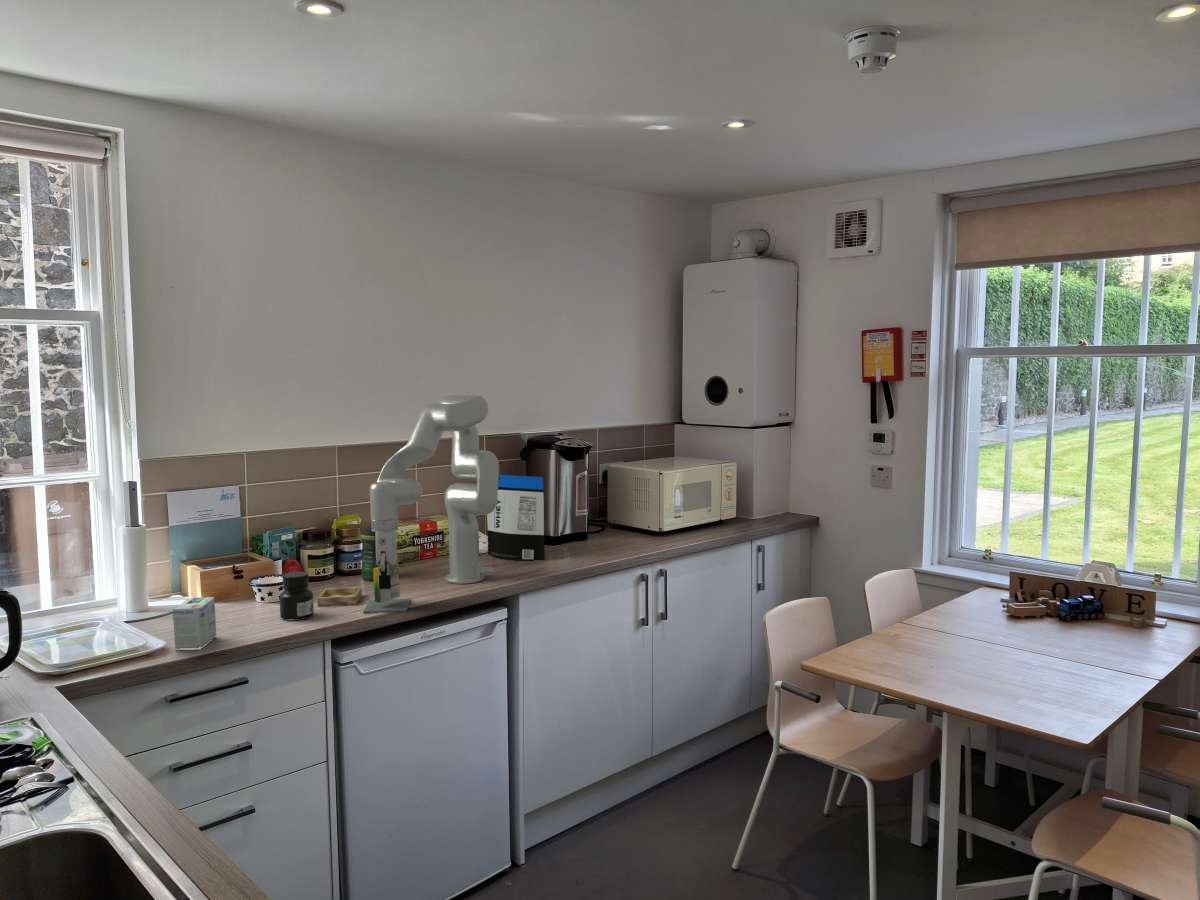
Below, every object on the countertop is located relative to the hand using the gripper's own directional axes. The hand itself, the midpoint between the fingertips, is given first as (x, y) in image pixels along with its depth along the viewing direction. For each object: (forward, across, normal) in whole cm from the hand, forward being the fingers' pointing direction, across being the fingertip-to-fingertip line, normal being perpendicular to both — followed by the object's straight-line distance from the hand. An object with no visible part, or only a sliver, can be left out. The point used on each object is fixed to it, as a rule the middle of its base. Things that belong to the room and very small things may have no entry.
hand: (386, 584), depth 249 cm
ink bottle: (+7, -6, +24) cm, 26 cm away
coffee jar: (+7, +36, +8) cm, 37 cm away
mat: (+6, 0, 0) cm, 6 cm away
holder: (+6, +9, +15) cm, 19 cm away
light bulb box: (+7, -27, +44) cm, 52 cm away
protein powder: (+7, +59, -38) cm, 70 cm away
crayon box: (+4, 0, 0) cm, 4 cm away
